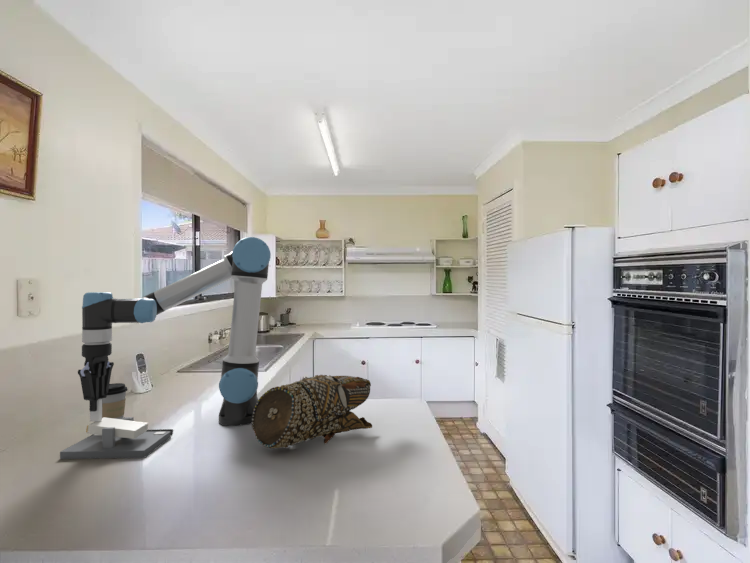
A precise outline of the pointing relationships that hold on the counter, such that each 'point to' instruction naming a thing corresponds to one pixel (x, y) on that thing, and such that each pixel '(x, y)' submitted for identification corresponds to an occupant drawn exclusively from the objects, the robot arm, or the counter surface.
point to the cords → (160, 430)
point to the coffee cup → (114, 401)
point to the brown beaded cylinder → (309, 410)
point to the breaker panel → (115, 445)
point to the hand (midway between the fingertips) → (95, 420)
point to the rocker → (118, 427)
